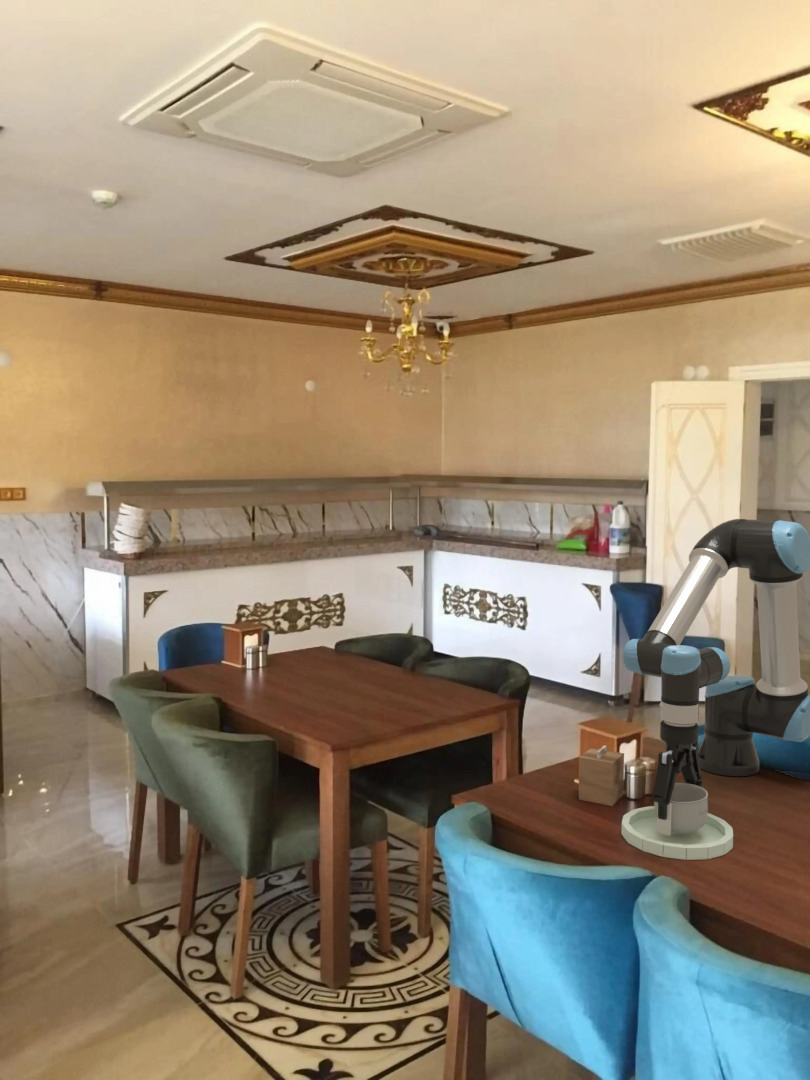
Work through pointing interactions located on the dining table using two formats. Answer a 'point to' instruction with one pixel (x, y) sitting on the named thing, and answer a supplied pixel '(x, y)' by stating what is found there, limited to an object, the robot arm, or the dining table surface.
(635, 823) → the tray
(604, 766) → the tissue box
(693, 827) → the teacup
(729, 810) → the dining table surface
